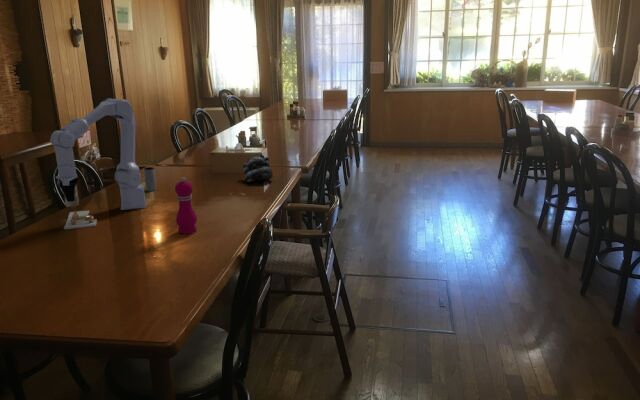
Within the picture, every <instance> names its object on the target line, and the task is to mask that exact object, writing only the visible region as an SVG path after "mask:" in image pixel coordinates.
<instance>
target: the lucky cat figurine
mask: <svg viewBox="0 0 640 400" xmlns="http://www.w3.org/2000/svg"><path fill="white" fill-rule="evenodd" d="M242 168H243V174H244V182H245V181H246V182H249V183H252V182H256V180H258V181H263V180H264V179H270V180H271V179H273V178H274V177H273V176H274V175H273V171H272V168H271V165H270V158H269V156H267V157H266V156H265V155H263V154H261V155H260V156H254V157H252V158H248V159H247V161H246V162H244V163H243V164H242ZM264 181H265V180H264ZM246 182H245V183H246Z"/></svg>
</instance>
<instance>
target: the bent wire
mask: <svg viewBox="0 0 640 400" xmlns="http://www.w3.org/2000/svg"><path fill="white" fill-rule="evenodd" d="M73 212H74V213H73V216H72V218H71V224H72V225H75V224H77V222H76V220H82V219H85V220H89V223H93V222H94V218H95V217H94V216H93V215H88V216H80V217H79V216H78V213H77V212H78V211H73Z"/></svg>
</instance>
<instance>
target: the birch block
mask: <svg viewBox="0 0 640 400" xmlns="http://www.w3.org/2000/svg"><path fill="white" fill-rule="evenodd" d="M63 196H64V202H65V207H67V208H68V207H77V206H79V204H80V198H79V193H78V184H77V185H76V186H75V198H74V201H72V202H68V201H67V199H66V196H65V194H64V193H63Z"/></svg>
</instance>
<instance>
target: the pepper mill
mask: <svg viewBox="0 0 640 400" xmlns="http://www.w3.org/2000/svg"><path fill="white" fill-rule="evenodd" d="M186 179H187V178H186V177H185V176H184V177H183V176H182V177H180V181H178V182H177V183H176V184H175V187H174V192H175V194H177V196H176V197H177V201H178V205H179V206H178V211H177V214H176V219H175V222H176V224H177V226H178V233H179V234H180V233H182V234H181V235H189V234H188V233H192V234H194V233H193V232H195V231H196V230H198V229H197V225H196V224H197V222H198V217H197V214H196V212H195V210H194V208H193V205H192V199H193V197H192V196H193V195H192V193H193V190H194V188H193V185H192V184H191V182H190V181H186ZM196 232H197V231H196ZM196 232H195V233H196Z"/></svg>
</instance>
